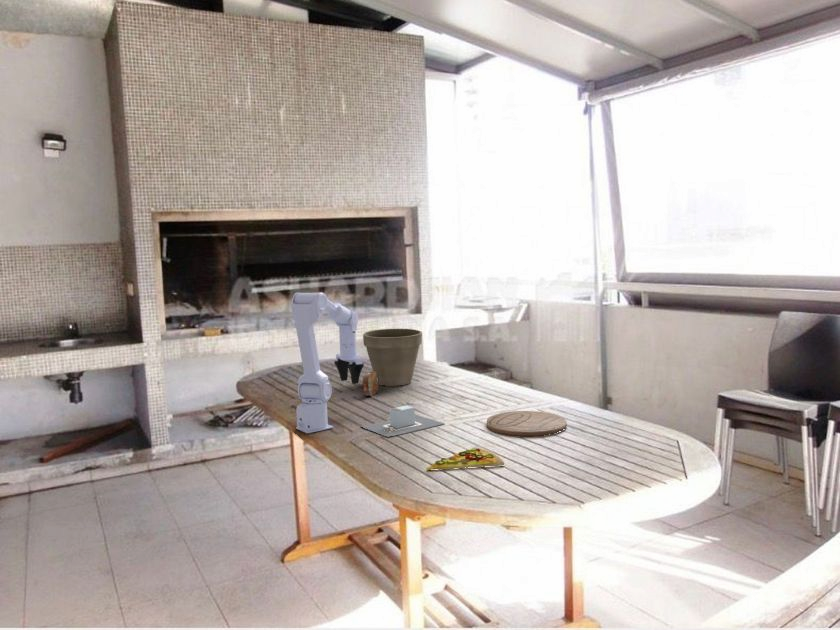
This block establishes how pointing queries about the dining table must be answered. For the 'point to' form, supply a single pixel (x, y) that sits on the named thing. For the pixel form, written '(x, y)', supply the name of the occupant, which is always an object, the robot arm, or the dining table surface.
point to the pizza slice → (468, 460)
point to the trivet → (526, 423)
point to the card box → (402, 416)
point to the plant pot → (393, 354)
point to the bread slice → (370, 383)
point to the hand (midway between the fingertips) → (349, 382)
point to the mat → (419, 425)
